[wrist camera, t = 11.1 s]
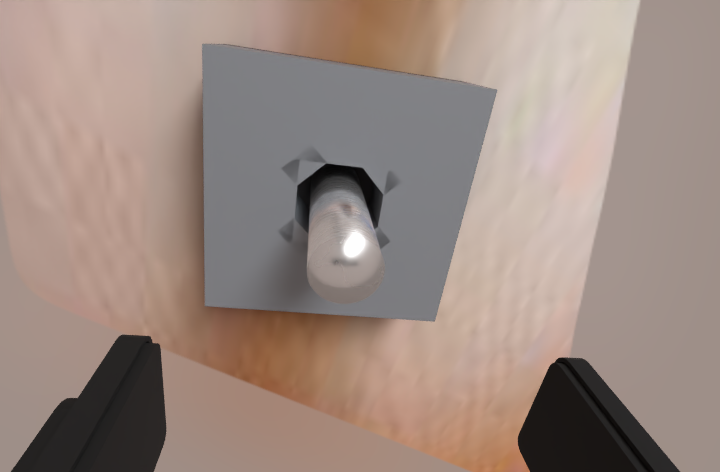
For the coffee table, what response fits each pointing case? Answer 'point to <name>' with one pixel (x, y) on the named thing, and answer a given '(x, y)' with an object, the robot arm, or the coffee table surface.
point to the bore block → (341, 147)
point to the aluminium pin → (341, 238)
